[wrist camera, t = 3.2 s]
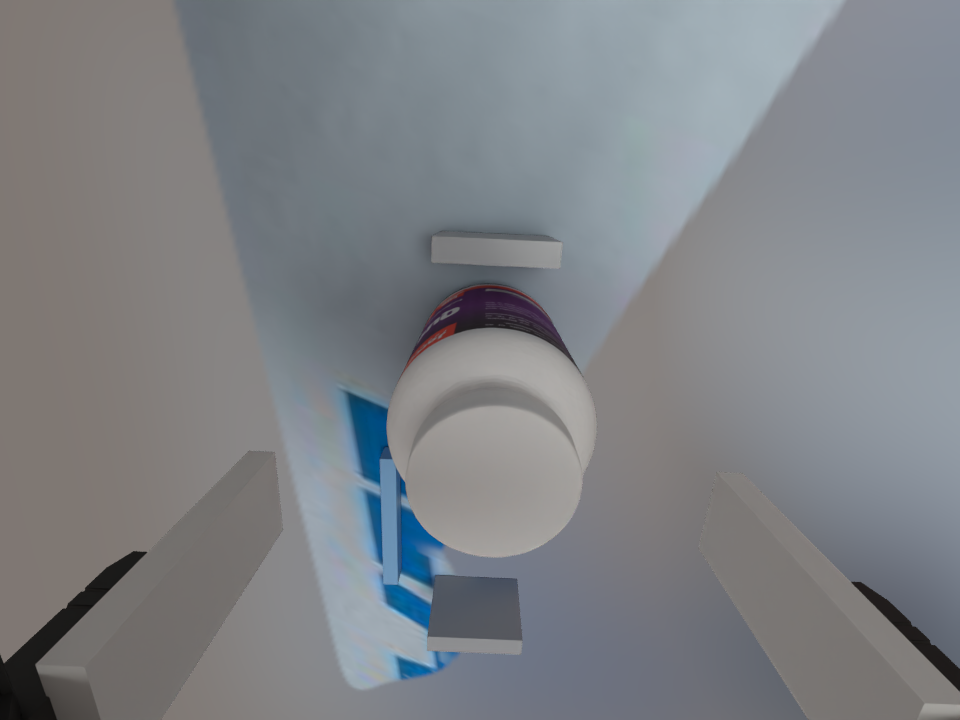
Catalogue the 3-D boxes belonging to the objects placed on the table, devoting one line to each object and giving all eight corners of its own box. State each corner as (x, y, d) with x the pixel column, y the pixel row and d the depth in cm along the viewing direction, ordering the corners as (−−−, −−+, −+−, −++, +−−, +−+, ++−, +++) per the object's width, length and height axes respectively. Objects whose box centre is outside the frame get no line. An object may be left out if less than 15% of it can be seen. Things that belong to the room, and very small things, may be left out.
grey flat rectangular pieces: (388, 585, 33) (372, 648, 29) (379, 228, 25) (354, 232, 20) (515, 591, 33) (521, 654, 29) (548, 235, 25) (562, 242, 21)
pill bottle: (447, 261, 26) (404, 320, 12) (575, 307, 27) (672, 412, 13) (406, 384, 28) (334, 549, 15) (525, 423, 29) (562, 614, 15)
